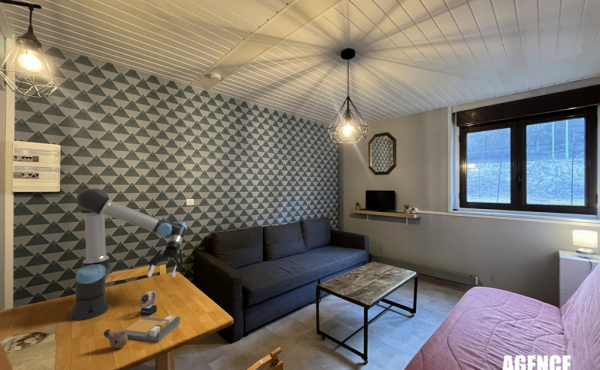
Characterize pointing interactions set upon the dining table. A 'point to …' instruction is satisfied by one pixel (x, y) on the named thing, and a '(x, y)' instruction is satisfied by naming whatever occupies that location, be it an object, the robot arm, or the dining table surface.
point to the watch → (144, 301)
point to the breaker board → (151, 328)
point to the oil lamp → (116, 338)
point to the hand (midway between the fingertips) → (160, 276)
